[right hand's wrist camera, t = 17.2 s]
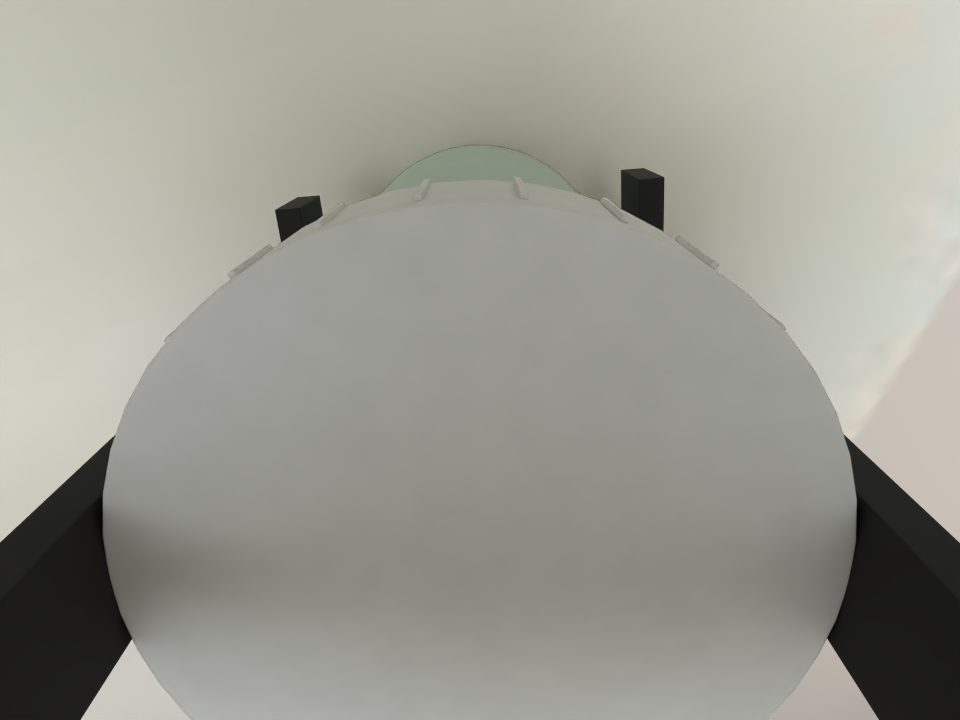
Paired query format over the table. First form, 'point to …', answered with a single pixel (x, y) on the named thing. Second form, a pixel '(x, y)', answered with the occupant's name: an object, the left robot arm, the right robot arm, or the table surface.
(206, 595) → the lid
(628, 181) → the left robot arm
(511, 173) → the jar
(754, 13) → the table surface
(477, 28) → the table surface
